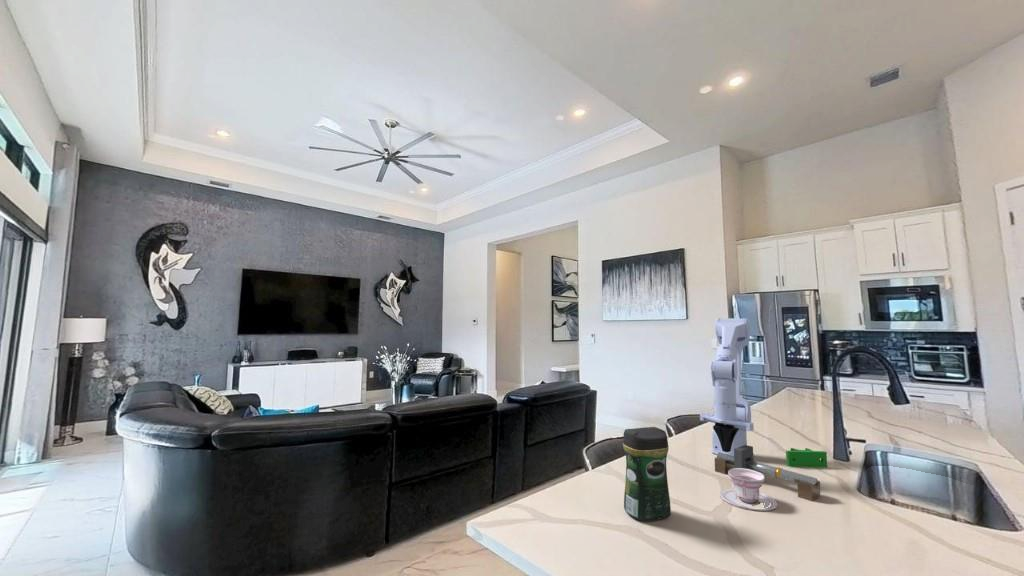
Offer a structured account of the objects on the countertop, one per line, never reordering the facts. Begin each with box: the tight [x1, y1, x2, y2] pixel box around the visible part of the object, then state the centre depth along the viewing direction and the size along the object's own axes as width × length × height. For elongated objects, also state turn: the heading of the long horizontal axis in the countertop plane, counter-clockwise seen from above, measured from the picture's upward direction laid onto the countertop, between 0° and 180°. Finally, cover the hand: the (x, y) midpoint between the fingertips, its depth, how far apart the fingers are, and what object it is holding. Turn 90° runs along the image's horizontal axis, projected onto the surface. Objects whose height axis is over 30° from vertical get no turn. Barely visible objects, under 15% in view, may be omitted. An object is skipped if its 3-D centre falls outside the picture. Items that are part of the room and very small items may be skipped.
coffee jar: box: [622, 426, 672, 522], centre depth 94 cm, size 10×8×19 cm
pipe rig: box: [714, 452, 822, 502], centre depth 112 cm, size 24×5×5 cm, turn 35°
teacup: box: [719, 468, 778, 512], centre depth 101 cm, size 12×12×6 cm
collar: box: [734, 444, 754, 469], centre depth 116 cm, size 2×6×7 cm, turn 125°
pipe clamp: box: [785, 447, 828, 468], centre depth 126 cm, size 11×4×5 cm, turn 89°
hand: (726, 451), depth 120 cm, fingers closed
